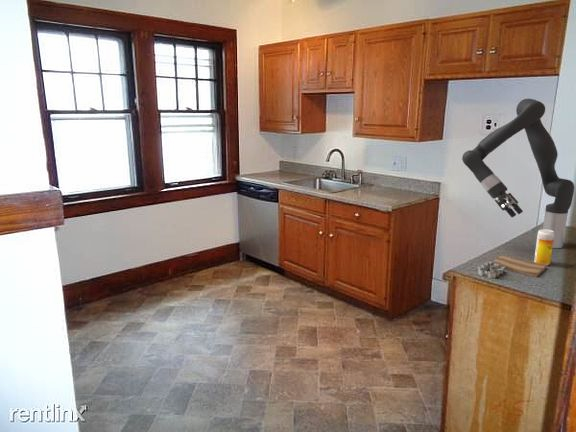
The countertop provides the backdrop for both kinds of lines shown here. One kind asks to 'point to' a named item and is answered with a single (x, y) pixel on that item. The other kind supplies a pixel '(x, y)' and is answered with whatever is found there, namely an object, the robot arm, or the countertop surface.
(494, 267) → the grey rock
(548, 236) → the beer glass
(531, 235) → the countertop surface
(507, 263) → the walnut board
